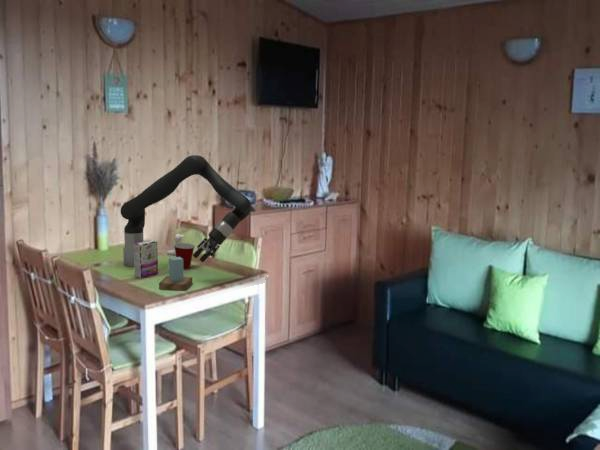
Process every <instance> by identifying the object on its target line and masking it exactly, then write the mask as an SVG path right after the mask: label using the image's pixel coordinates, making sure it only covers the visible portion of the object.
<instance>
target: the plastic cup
mask: <svg viewBox="0 0 600 450" xmlns="http://www.w3.org/2000/svg"><path fill="white" fill-rule="evenodd" d="M174 247H175V252H176V255H175V257H181V258H182V259H183V270H186V269H187V270H188V269H190V267H191V265H192V260H193V259H192V258H193V254H194V250H195V248H196V244H193V243H189V242H182V243H176V244H175V243H174V244H173V248H174Z"/></svg>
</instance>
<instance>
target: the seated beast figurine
mask: <svg viewBox="0 0 600 450" xmlns="http://www.w3.org/2000/svg"><path fill="white" fill-rule="evenodd" d="M184 237H185V235H184V234H181V233H176V234H175V235H174V238H173V240H174V244H176V243H183V242H182V240H183V238H184ZM166 255H168V256H176V252H175V247H174V246H173V249H169V250H167V251H166Z"/></svg>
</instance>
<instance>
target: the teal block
mask: <svg viewBox="0 0 600 450" xmlns="http://www.w3.org/2000/svg"><path fill="white" fill-rule="evenodd" d="M168 276H169V280H171V281H172V282H177V281H183V277H184V269H183V259H182V258H181V257H176V256H175V257H174V256H173V257H168Z"/></svg>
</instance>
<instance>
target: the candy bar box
mask: <svg viewBox="0 0 600 450" xmlns="http://www.w3.org/2000/svg"><path fill="white" fill-rule="evenodd" d="M158 253H159V251H158V240H155V239H154V240H153V239H149V240H143V242H139V243H135V244H134V267H133V268H134V277H135V278H138V279H144V278H149V277H152V276H154V275H158V274H159V262H158V261H159V259H158Z"/></svg>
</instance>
